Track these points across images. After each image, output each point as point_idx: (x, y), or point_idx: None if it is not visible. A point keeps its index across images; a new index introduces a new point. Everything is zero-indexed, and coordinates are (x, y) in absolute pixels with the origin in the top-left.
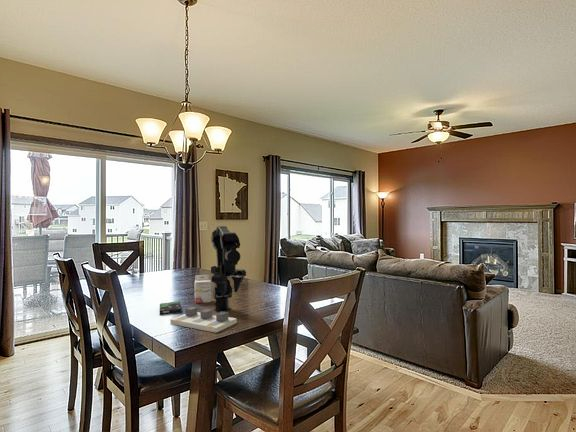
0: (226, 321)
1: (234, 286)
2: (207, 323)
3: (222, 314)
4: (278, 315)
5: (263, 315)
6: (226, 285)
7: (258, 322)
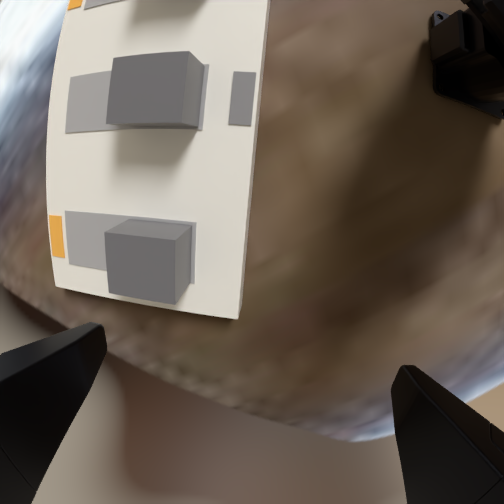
0: None
1: (436, 424)
2: (75, 194)
3: (113, 288)
4: None
5: None
6: (20, 494)
7: (292, 399)
